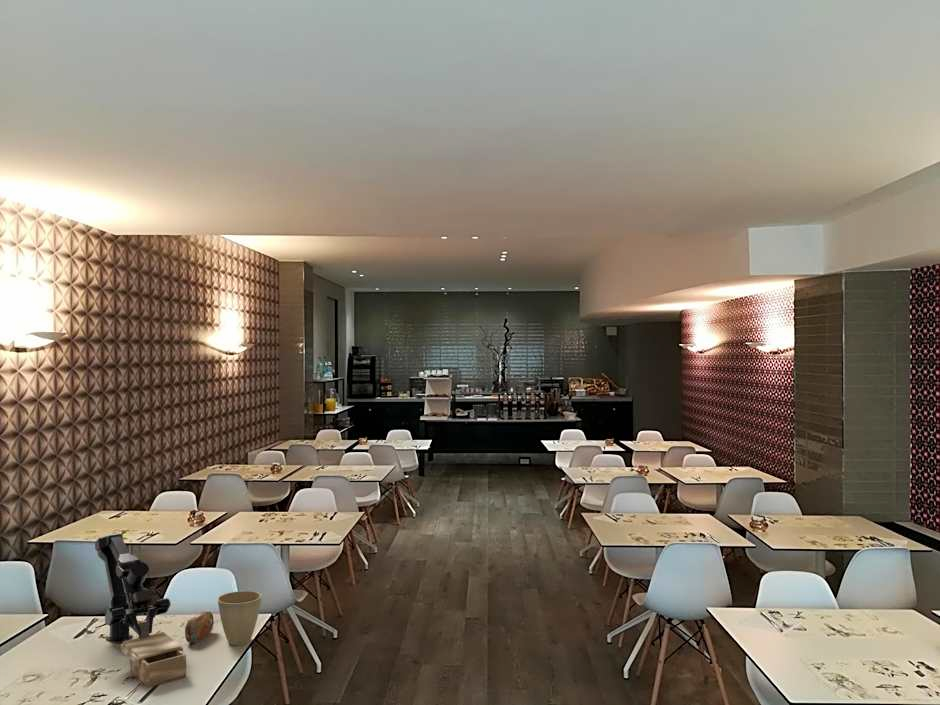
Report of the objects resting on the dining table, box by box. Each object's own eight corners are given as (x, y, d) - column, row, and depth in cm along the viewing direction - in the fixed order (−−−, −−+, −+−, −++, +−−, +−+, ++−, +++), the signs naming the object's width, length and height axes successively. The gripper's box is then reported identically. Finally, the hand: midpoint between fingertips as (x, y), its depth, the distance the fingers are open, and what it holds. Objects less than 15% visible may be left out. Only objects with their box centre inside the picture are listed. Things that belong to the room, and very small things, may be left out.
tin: (191, 646, 259) (191, 622, 259) (183, 646, 259) (183, 621, 259) (214, 631, 273) (214, 608, 274) (206, 630, 274) (206, 607, 274)
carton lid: (121, 650, 242) (121, 626, 242) (164, 639, 251) (165, 616, 251) (137, 666, 229) (137, 640, 229) (183, 654, 238) (183, 630, 238)
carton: (130, 671, 238) (130, 649, 238) (168, 661, 246) (168, 640, 246) (146, 688, 226) (146, 665, 226) (186, 677, 234) (186, 654, 234)
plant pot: (253, 650, 255) (253, 603, 255) (211, 649, 256) (211, 603, 256) (266, 634, 270) (266, 590, 270) (226, 634, 270) (226, 590, 271)
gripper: (110, 585, 243) (120, 628, 234) (168, 574, 255) (180, 614, 247) (103, 603, 249) (113, 645, 240) (160, 592, 261) (171, 631, 252)
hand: (145, 633), depth 245 cm, fingers closed on carton lid, 3 cm apart
